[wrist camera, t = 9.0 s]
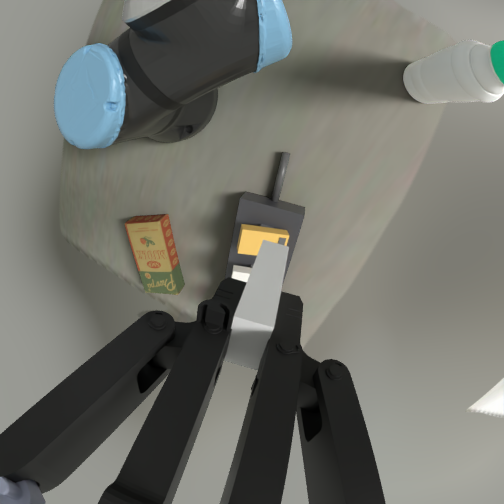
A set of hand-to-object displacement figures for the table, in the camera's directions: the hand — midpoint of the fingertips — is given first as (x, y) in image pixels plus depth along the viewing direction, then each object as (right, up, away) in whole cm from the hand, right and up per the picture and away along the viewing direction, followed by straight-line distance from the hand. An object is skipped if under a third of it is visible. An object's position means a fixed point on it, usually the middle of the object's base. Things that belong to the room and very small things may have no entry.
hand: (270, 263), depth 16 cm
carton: (-20, +1, +38) cm, 43 cm away
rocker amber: (+1, +2, +26) cm, 26 cm away
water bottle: (+25, +27, +14) cm, 40 cm away
